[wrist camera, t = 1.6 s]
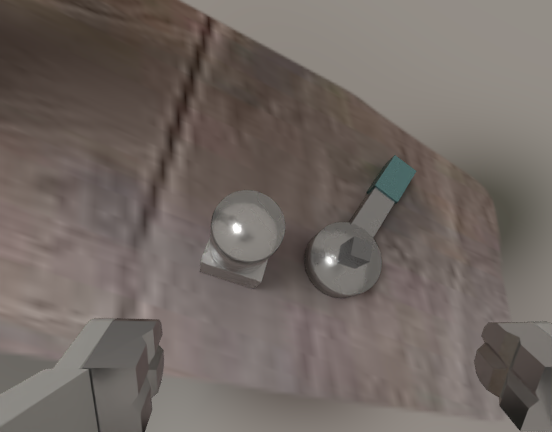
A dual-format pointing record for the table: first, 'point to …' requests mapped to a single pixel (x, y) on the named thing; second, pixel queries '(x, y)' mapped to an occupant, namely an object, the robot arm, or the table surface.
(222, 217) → the cylinder on square base
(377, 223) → the ratchet
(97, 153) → the table surface
